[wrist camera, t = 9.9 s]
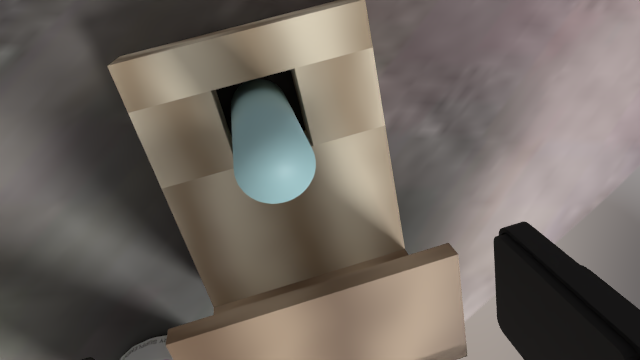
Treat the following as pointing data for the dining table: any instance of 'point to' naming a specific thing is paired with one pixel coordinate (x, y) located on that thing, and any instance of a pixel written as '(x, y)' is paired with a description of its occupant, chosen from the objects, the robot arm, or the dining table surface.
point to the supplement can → (149, 350)
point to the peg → (269, 144)
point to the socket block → (292, 201)
